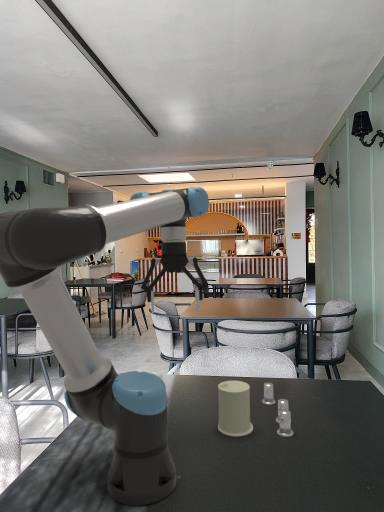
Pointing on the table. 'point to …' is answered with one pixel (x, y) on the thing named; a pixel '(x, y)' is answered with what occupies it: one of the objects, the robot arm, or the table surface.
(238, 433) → the beige flat disc
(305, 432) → the table surface
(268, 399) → the posts
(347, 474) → the table surface
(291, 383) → the table surface
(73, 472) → the table surface
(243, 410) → the can
